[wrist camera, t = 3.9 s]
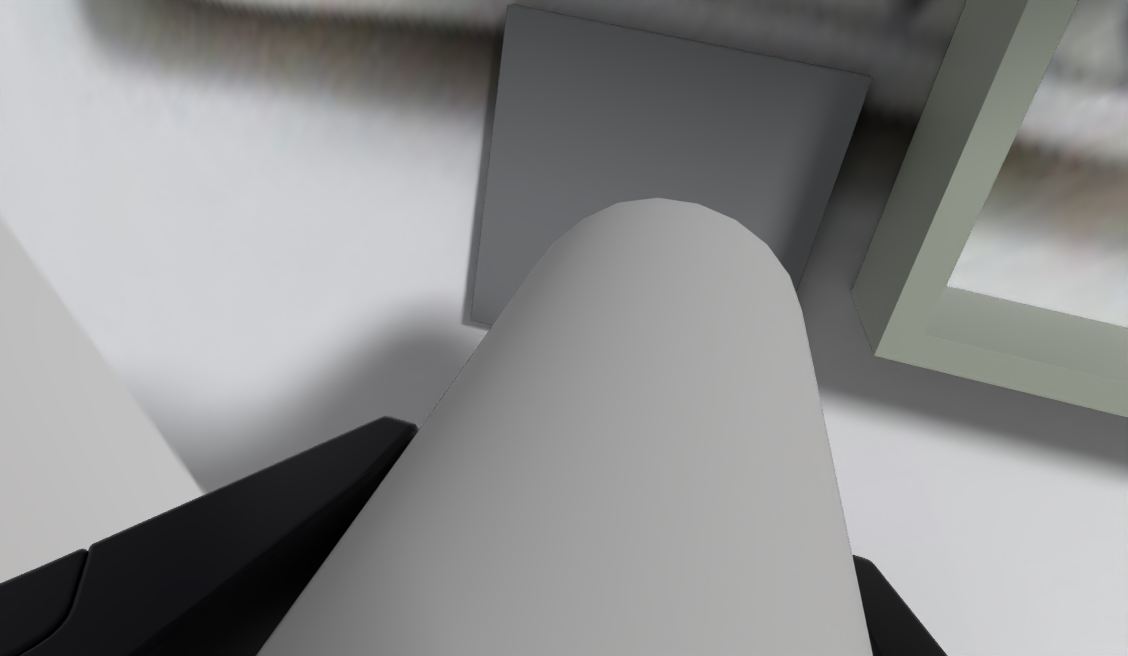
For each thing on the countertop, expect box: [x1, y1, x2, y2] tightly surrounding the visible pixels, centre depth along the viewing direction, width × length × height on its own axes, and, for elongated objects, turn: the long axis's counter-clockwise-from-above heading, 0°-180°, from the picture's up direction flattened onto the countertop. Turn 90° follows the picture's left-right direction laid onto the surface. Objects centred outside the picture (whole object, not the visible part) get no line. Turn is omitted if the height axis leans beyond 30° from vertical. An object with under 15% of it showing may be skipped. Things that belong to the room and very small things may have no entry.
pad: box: [471, 5, 872, 326], centre depth 20 cm, size 9×9×1 cm
